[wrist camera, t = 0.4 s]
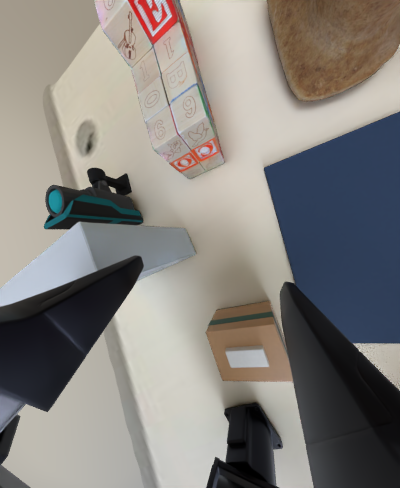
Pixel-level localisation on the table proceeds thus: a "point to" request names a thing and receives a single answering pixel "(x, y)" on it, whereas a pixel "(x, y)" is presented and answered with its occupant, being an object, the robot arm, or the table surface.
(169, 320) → the table surface
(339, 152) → the desk mat
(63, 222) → the surveillance camera
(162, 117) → the stack of blocks
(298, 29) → the stone cup
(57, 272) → the skincare box
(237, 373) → the cardboard box
